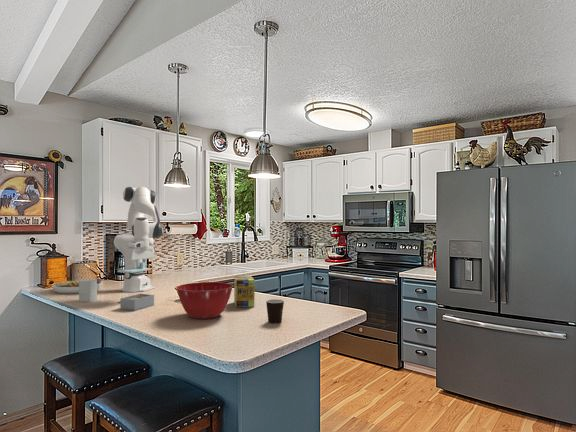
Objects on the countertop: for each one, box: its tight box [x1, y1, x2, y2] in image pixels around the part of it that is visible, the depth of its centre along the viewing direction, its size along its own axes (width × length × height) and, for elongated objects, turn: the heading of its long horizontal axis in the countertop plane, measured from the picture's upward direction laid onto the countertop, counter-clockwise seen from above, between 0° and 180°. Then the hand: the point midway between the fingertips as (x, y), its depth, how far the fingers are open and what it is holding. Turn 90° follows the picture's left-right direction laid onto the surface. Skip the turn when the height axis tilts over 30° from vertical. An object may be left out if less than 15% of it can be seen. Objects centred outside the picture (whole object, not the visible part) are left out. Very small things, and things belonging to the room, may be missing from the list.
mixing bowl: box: [176, 281, 234, 320], centre depth 201 cm, size 28×28×16 cm
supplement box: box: [78, 278, 98, 303], centre depth 235 cm, size 7×7×13 cm
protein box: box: [233, 275, 256, 309], centre depth 227 cm, size 10×15×16 cm
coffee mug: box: [266, 298, 285, 325], centre depth 191 cm, size 12×9×10 cm
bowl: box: [51, 278, 103, 295], centre depth 269 cm, size 30×30×8 cm
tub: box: [119, 293, 155, 312], centre depth 219 cm, size 15×10×6 cm, turn 158°
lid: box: [116, 261, 152, 273], centre depth 234 cm, size 16×11×4 cm
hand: (140, 266), depth 239 cm, fingers closed on lid, 2 cm apart
